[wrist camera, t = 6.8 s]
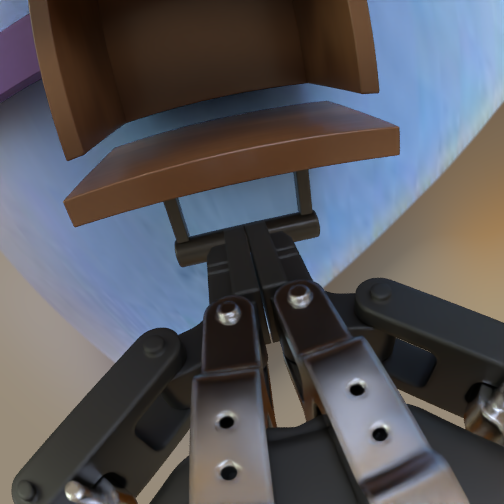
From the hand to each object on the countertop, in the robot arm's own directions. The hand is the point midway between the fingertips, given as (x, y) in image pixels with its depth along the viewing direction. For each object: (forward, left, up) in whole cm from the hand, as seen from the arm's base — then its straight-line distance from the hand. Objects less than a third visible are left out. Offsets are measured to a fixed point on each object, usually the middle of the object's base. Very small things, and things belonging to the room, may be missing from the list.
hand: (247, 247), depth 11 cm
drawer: (0, +7, -8) cm, 11 cm away
